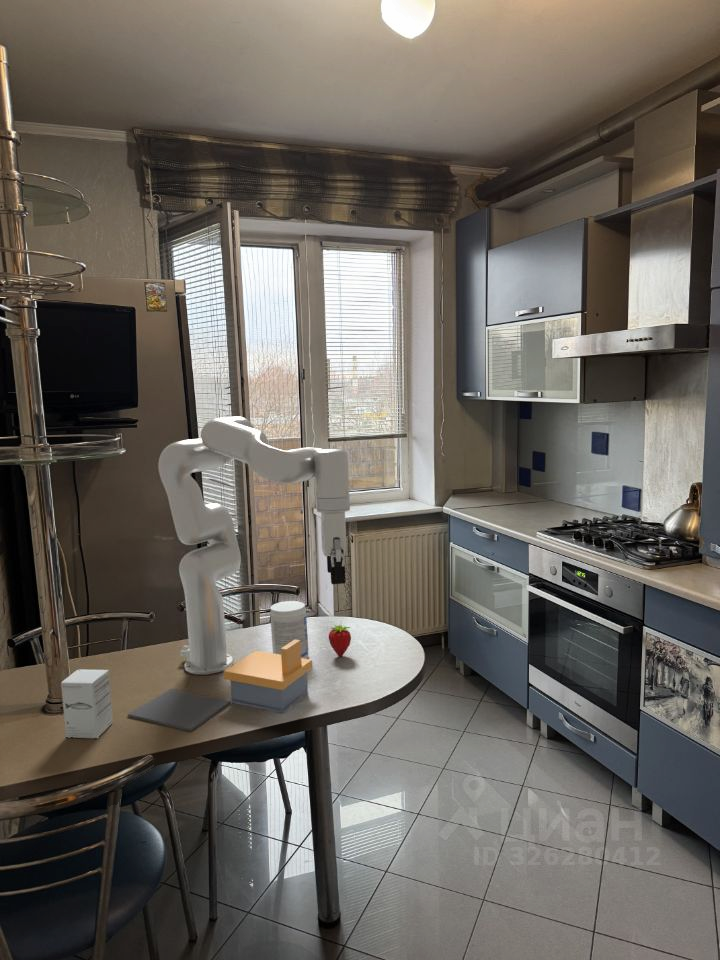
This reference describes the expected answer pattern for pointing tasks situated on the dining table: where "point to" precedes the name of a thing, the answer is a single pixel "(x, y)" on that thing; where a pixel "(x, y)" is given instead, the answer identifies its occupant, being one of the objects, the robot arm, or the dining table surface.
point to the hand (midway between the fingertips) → (336, 577)
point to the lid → (271, 667)
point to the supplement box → (87, 703)
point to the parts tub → (269, 695)
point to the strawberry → (339, 639)
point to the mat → (179, 709)
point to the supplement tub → (289, 626)
